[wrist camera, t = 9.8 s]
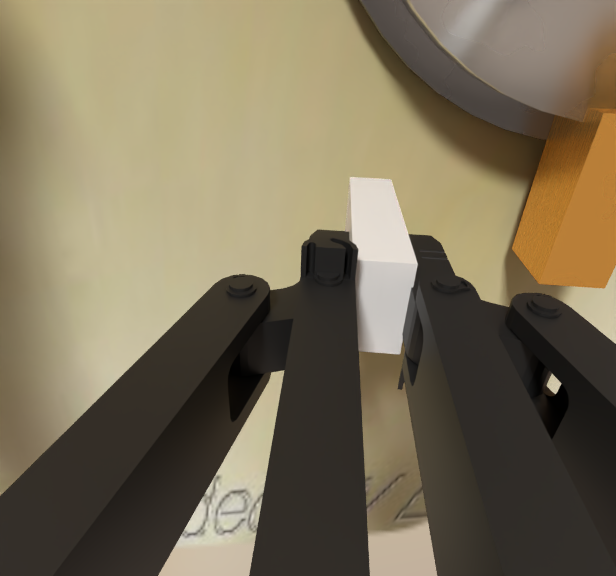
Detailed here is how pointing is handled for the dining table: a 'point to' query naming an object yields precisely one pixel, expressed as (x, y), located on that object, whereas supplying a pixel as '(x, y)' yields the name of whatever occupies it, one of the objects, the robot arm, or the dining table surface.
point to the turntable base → (451, 73)
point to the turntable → (566, 124)
